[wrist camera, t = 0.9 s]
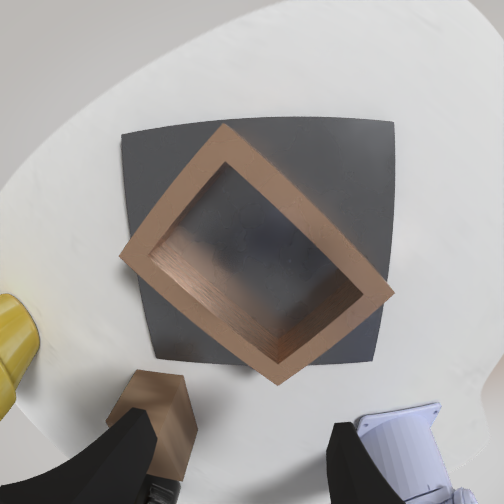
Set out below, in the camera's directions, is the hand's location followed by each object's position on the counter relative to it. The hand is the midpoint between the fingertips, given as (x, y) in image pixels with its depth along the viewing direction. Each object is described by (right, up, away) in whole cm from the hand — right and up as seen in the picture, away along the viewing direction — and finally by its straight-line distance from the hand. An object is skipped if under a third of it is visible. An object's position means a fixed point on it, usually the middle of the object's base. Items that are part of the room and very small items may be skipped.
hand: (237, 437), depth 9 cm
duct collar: (+1, +7, +7) cm, 10 cm away
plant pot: (-23, 0, +12) cm, 26 cm away
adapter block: (-6, -6, +12) cm, 15 cm away
